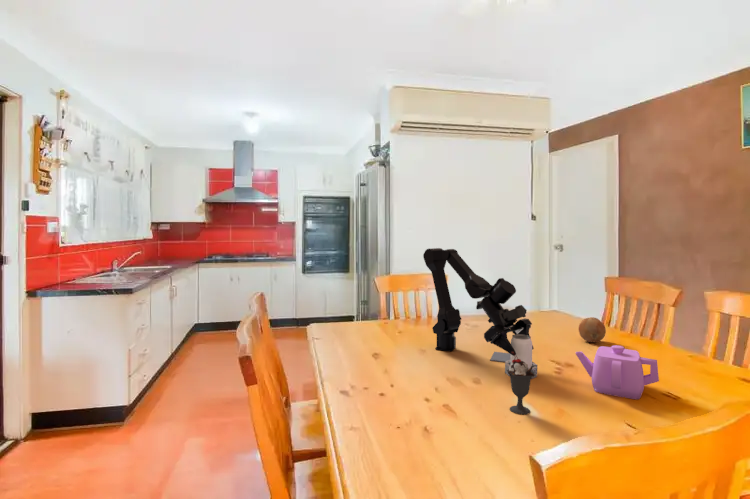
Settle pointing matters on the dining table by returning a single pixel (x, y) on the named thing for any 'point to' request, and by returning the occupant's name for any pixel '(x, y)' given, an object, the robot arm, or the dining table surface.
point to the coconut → (592, 329)
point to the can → (522, 348)
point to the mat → (500, 357)
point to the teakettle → (619, 371)
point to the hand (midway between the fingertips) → (523, 352)
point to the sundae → (520, 383)
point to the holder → (508, 363)
